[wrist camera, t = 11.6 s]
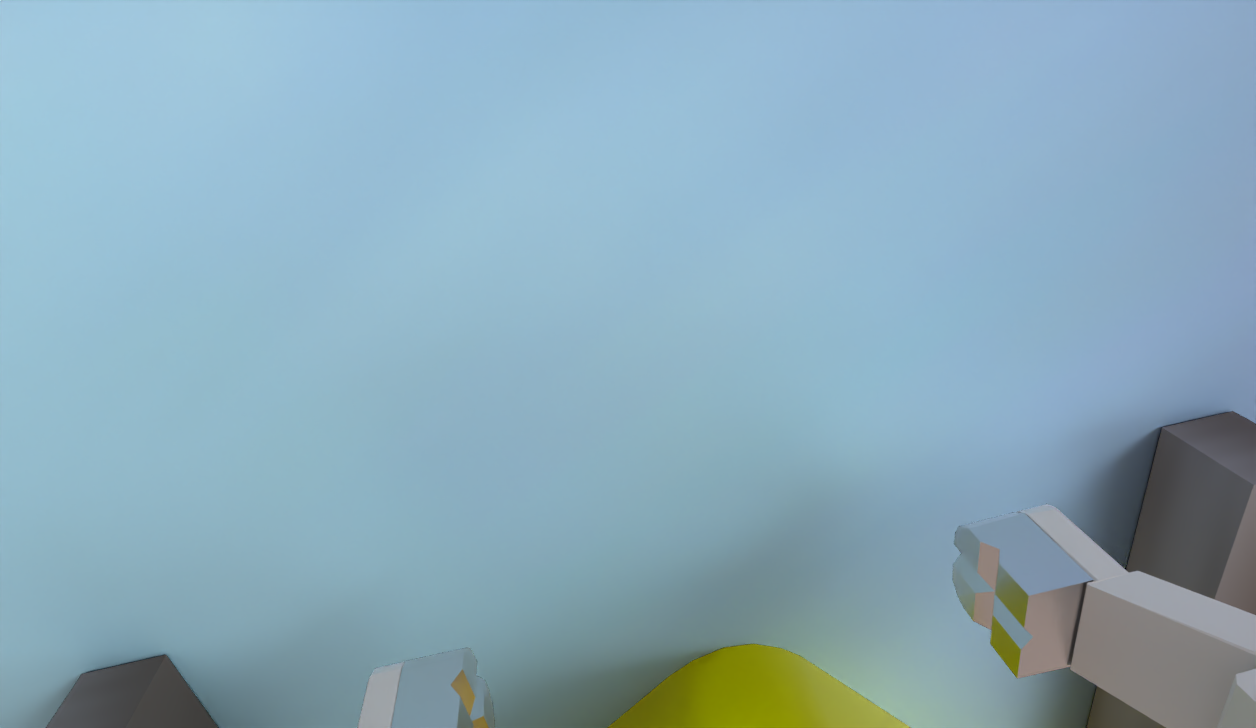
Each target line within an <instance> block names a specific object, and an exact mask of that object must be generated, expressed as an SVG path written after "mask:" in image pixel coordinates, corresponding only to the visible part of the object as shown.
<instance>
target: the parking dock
mask: <svg viewBox="0 0 1256 728" xmlns="http://www.w3.org/2000/svg"><path fill="white" fill-rule="evenodd" d="M1126 571H1128V572H1134V571H1140V572H1143V573H1146V574H1148V575H1151V576H1154V577H1156V578H1159V579H1161V580H1164V581H1167V582H1169V583H1172V584H1175V585H1177V586H1180V587H1183V588H1185V589H1188V590H1191V591H1193V592H1196V593H1198V594H1201V595H1204V596H1206V597H1209V598H1212V599H1214V600H1217V601H1220V602H1222V603H1225V604H1228V605H1230V606H1233V607H1235V608H1238V609H1241V610H1243V611H1246V612H1249V613H1251V614H1254V615H1256V424H1255V423H1254V422H1252V421H1250V420H1248V419H1246V418H1244V417H1243V416H1241V415H1239V414H1237V413H1235V412H1233V411H1232V412H1227V413H1223V414H1219V415H1214V416H1210V417H1205V418H1201V419H1197V420H1192V421H1188V422H1184V423H1179V424H1175V425H1170V426H1166V427H1162V429H1161V433H1160V437H1159V441H1158V445H1157V449H1156V453H1155V457H1154V461H1153V465H1152V469H1151V473H1150V477H1149V481H1148V485H1147V489H1146V493H1145V497H1144V501H1143V505H1142V509H1141V513H1140V517H1139V521H1138V525H1137V529H1136V533H1135V537H1134V541H1133V545H1132V549H1131V553H1130V557H1129V561H1128V565H1127V569H1126ZM46 728H218V727H217V725H216V724H215V722H214V721H213V720H212V718H211V717H210V715H209V714H208V713H207V711H206V710H205V708H204V707H203V706H202V704H201V703H200V701H199V700H198V699H197V697H196V696H195V694H194V693H193V692H192V690H191V689H190V687H189V686H188V685H187V683H186V682H185V680H184V679H183V678H182V676H181V675H180V673H179V672H178V671H177V669H176V668H175V666H174V665H173V664H172V662H171V661H170V659H169V658H168V656H167V655H163V656H158V657H154V658H150V659H145V660H141V661H136V662H132V663H128V664H123V665H119V666H115V667H110V668H106V669H101V670H97V671H93V672H88V673H84V674H81V676H80V677H79V679H78V680H77V682H76V683H75V685H74V686H73V688H72V689H71V691H70V692H69V694H68V695H67V697H66V698H65V700H64V701H63V703H62V704H61V706H60V707H59V709H58V710H57V712H56V713H55V715H54V716H53V718H52V719H51V721H50V722H49V724H48V725H47V727H46ZM1087 728H1166V727H1164V726H1162V725H1161V724H1159V723H1157V722H1156V721H1154V720H1153V719H1151V718H1149V717H1148V716H1146V715H1144V714H1143V713H1141V712H1139V711H1138V710H1136V709H1134V708H1133V707H1131V706H1129V705H1128V704H1126V703H1124V702H1123V701H1121V700H1120V699H1118V698H1116V697H1115V696H1113V695H1111V694H1110V693H1108V692H1106V691H1105V690H1103V689H1101V688H1100V687H1098V686H1097V688H1096V692H1095V696H1094V700H1093V704H1092V708H1091V712H1090V716H1089V720H1088V724H1087Z"/></svg>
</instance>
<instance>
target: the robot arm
mask: <svg viewBox="0 0 1256 728" xmlns="http://www.w3.org/2000/svg"><path fill="white" fill-rule="evenodd" d="M954 545H955V546H956V547H957V548H958V550H959V551H960V552H961V554H960V555H959V557H958V558H957V559H956V561H955V562H954V563H953V583H954V586H955V590H956V593H957V596H958V598H959V600H960V602H961V604H962V606H963V607H964V609H965V610H966V612H967V613H968V614H969V616H970V617H971V619H972V620H973V621H974V622H976V623H978V624H980V625H982V626H984V627H986V628H988V629H990V630H991V640H990V644H991V645H992V646H993V648H994V649H995V650H996V652H997V653H998V654H999V655H1000V657H1001V658H1002V659H1003V661H1004V662H1005V663H1006V665H1007V666H1008V667H1009V668H1010V670H1011V671H1012V672H1013V674H1014V675H1015V676H1016V678H1022V677H1026V676H1031V675H1035V674H1040V673H1044V672H1048V671H1053V670H1057V669H1062V668H1066V667H1071V668H1070V670H1072V671H1073V672H1075V673H1077V674H1078V675H1080V676H1082V677H1083V678H1085V679H1087V680H1088V681H1090V682H1091V683H1093V684H1095V685H1096V686H1098V687H1100V688H1101V689H1103V690H1105V691H1106V692H1108V693H1110V694H1111V695H1113V696H1115V697H1116V698H1118V699H1120V700H1121V701H1123V702H1124V703H1126V704H1128V705H1129V706H1131V707H1133V708H1134V709H1136V710H1138V711H1139V712H1141V713H1143V714H1144V715H1146V716H1148V717H1149V718H1151V719H1153V720H1154V721H1156V722H1157V723H1159V724H1161V725H1162V726H1164V727H1166V728H1256V615H1254V614H1251V613H1249V612H1246V611H1243V610H1241V609H1238V608H1235V607H1233V606H1230V605H1228V604H1225V603H1222V602H1220V601H1217V600H1214V599H1212V598H1209V597H1206V596H1204V595H1201V594H1198V593H1196V592H1193V591H1191V590H1188V589H1185V588H1183V587H1180V586H1177V585H1175V584H1172V583H1169V582H1167V581H1164V580H1161V579H1159V578H1156V577H1154V576H1151V575H1148V574H1146V573H1143V572H1140V571H1134V572H1128V571H1126V570H1125V569H1124V568H1123V567H1122V566H1121V565H1120V564H1119V563H1118V562H1116V561H1115V560H1114V559H1113V558H1112V557H1111V556H1110V555H1109V554H1107V553H1106V552H1105V551H1104V550H1103V549H1102V548H1101V547H1100V546H1098V545H1097V544H1096V543H1095V542H1094V541H1093V540H1092V539H1091V538H1090V537H1088V536H1087V535H1086V534H1085V533H1084V532H1083V531H1082V530H1081V529H1079V528H1078V527H1077V526H1076V525H1075V524H1074V523H1073V522H1072V521H1070V520H1069V519H1068V518H1067V517H1066V516H1065V515H1064V514H1063V513H1062V512H1060V511H1059V510H1058V509H1057V508H1056V507H1054V506H1051V505H1049V504H1045V505H1041V506H1037V507H1033V508H1029V509H1025V510H1021V511H1018V512H1012V513H1008V514H1004V515H1000V516H996V517H992V518H989V519H985V520H981V521H977V522H973V523H969V524H965V525H961V526H959V527H958V529H957V530H956V532H955V539H954ZM357 728H495V719H494V710H493V702H492V698H491V694H490V690H489V688H488V685H487V683H486V681H485V679H483V678H481V677H479V676H477V660H476V658H475V655H474V653H473V651H472V649H471V648H462V649H457V650H453V651H448V652H444V653H439V654H435V655H430V656H425V657H421V658H416V659H412V660H407V661H404V662H400V663H396V664H391V665H387V666H382V667H378V668H375V669H374V671H373V672H372V674H371V676H370V677H369V680H368V684H367V688H366V692H365V697H364V701H363V705H362V709H361V714H360V718H359V722H358V727H357Z"/></svg>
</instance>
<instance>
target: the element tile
mask: <svg viewBox="0 0 1256 728" xmlns="http://www.w3.org/2000/svg"><path fill="white" fill-rule="evenodd" d="M607 728H911V727H909V726H908V725H906V724H905V723H903V722H901V721H900V720H898V719H897V718H895V717H894V716H892V715H891V714H889V713H888V712H886V711H884V710H883V709H881V708H880V707H878V706H877V705H875V704H874V703H872V702H871V701H869V700H868V699H866V698H864V697H863V696H861V695H860V694H858V693H857V692H855V691H854V690H852V689H851V688H849V687H847V686H846V685H844V684H843V683H841V682H840V681H838V680H837V679H835V678H834V677H832V676H831V675H829V674H827V673H826V672H824V671H823V670H821V669H820V668H818V667H817V666H815V665H814V664H812V663H810V662H809V661H807V660H806V659H804V658H803V657H801V656H800V655H797V654H795V653H792V652H790V651H787V650H785V649H782V648H777V647H771V646H765V645H758V644H747V645H740V646H732V647H725V648H722V649H719V650H717V651H714V652H712V653H710V654H707V655H705V656H702V657H700V658H698V659H695V660H693V661H692V662H690V663H688V664H687V665H685V666H684V667H682V668H681V669H679V670H678V671H676V672H675V673H673V674H672V675H670V676H669V677H668V678H666V679H665V680H664V681H663V682H662V683H660V684H659V685H658V686H657V687H656V688H654V689H653V690H652V691H651V692H650V693H648V694H647V695H646V696H645V697H644V698H642V699H641V700H640V701H639V702H638V703H636V704H635V705H634V706H633V707H632V708H630V709H629V710H628V711H627V712H626V713H624V714H623V715H622V716H621V717H619V718H618V719H617V720H616V721H615V722H613V723H612V724H611V725H610V726H609V727H607Z"/></svg>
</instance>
